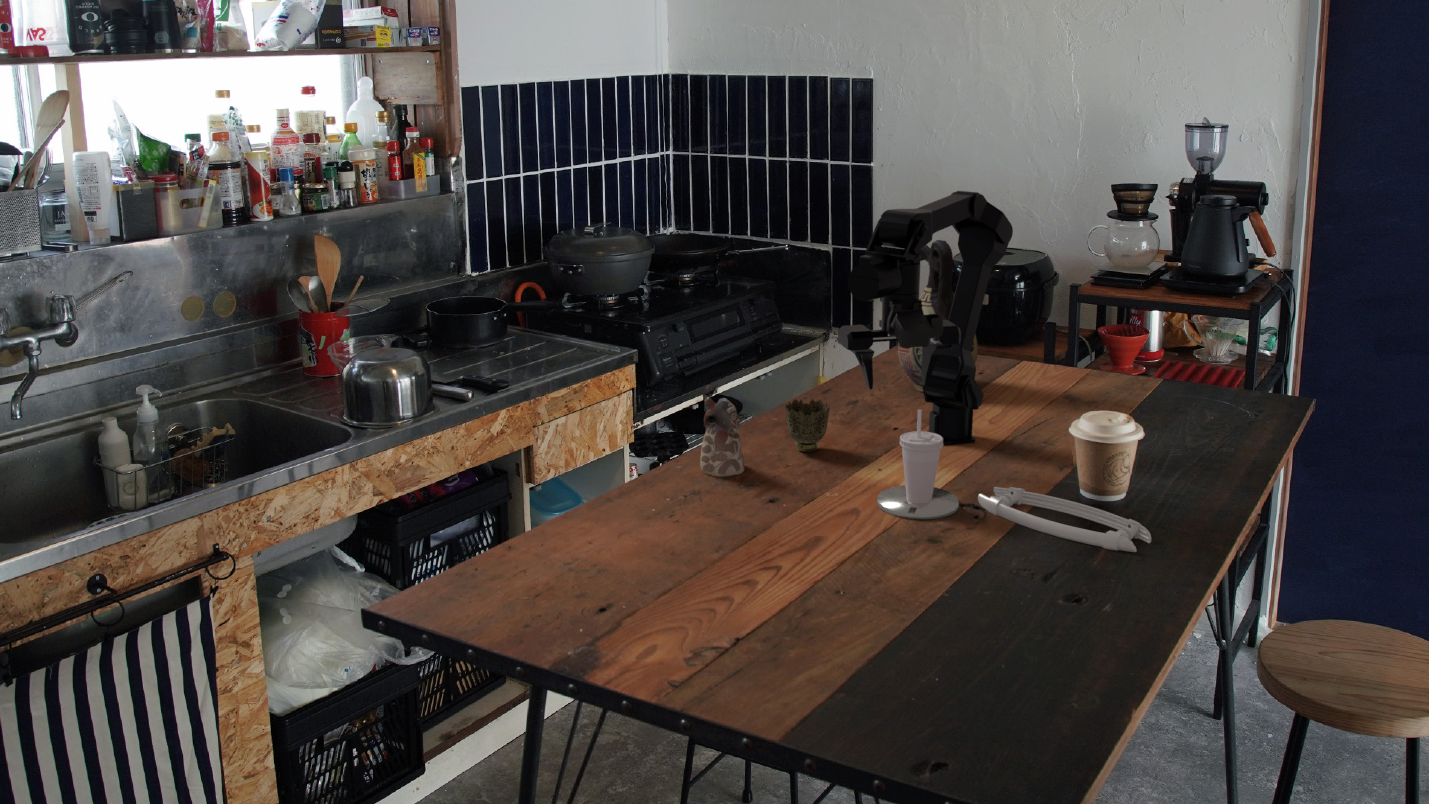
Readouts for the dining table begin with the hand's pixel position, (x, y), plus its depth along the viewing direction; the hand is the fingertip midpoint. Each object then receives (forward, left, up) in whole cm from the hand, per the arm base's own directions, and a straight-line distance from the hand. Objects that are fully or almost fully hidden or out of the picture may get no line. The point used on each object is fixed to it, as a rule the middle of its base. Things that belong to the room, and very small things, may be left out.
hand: (897, 387), depth 199 cm
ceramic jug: (-23, -39, -13) cm, 47 cm away
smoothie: (+3, +18, -12) cm, 22 cm away
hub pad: (+3, +18, -13) cm, 22 cm away
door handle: (-14, +30, -14) cm, 36 cm away
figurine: (+28, -4, -13) cm, 31 cm away
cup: (+12, -10, -13) cm, 20 cm away
